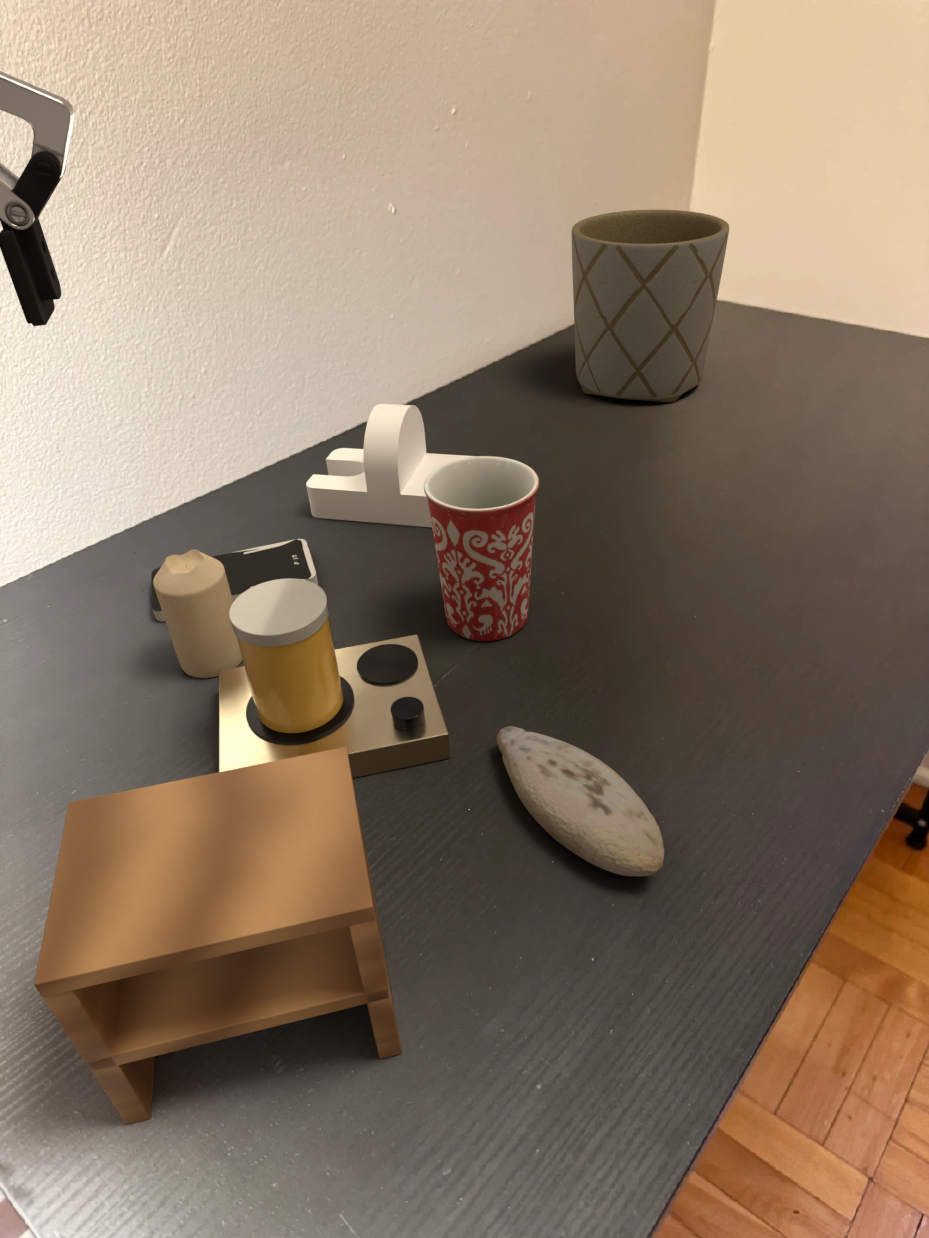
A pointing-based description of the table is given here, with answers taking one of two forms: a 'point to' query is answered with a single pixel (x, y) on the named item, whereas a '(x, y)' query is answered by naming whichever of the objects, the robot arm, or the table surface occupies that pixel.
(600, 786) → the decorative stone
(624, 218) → the planter
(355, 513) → the u-slot stand
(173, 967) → the shelf
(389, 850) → the table surface
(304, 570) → the smartphone
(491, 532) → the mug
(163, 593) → the candle
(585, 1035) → the table surface
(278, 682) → the jar
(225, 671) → the hob
